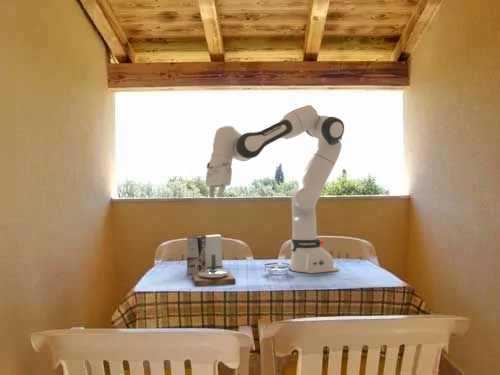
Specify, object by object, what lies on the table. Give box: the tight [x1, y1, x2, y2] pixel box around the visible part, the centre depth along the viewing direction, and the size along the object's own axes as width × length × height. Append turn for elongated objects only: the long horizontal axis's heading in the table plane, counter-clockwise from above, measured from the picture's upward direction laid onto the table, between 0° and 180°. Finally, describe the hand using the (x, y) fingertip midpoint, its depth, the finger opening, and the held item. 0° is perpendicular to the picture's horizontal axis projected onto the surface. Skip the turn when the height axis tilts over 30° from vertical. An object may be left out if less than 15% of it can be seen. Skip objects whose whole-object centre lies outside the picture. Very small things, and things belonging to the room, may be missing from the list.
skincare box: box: [203, 233, 223, 268], centre depth 216 cm, size 8×6×15 cm
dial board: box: [191, 270, 237, 287], centre depth 186 cm, size 16×15×2 cm
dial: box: [199, 254, 229, 279], centre depth 185 cm, size 12×12×8 cm
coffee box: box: [186, 234, 207, 275], centre depth 202 cm, size 9×6×16 cm
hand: (215, 197), depth 183 cm, fingers open, 8 cm apart
